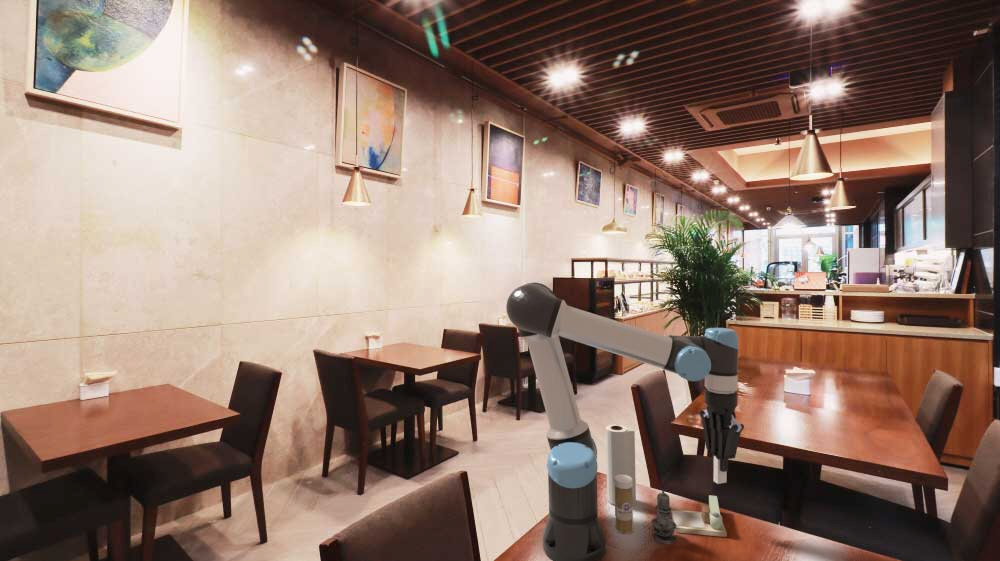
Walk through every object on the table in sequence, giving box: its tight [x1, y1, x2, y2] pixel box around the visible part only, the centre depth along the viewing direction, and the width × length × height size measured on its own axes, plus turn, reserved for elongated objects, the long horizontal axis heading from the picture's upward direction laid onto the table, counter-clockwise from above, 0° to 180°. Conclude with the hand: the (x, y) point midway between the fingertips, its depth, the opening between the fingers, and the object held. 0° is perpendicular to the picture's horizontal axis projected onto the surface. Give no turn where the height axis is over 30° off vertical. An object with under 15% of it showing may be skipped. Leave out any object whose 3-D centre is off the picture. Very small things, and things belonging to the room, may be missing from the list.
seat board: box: [670, 505, 728, 538], centre depth 122 cm, size 12×9×4 cm
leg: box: [708, 494, 723, 529], centre depth 123 cm, size 12×3×3 cm, turn 159°
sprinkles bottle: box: [614, 475, 634, 534], centre depth 120 cm, size 5×5×14 cm
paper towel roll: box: [605, 424, 637, 506], centre depth 134 cm, size 7×6×21 cm
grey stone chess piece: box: [651, 489, 676, 545], centre depth 116 cm, size 6×6×12 cm
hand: (719, 481), depth 119 cm, fingers closed
